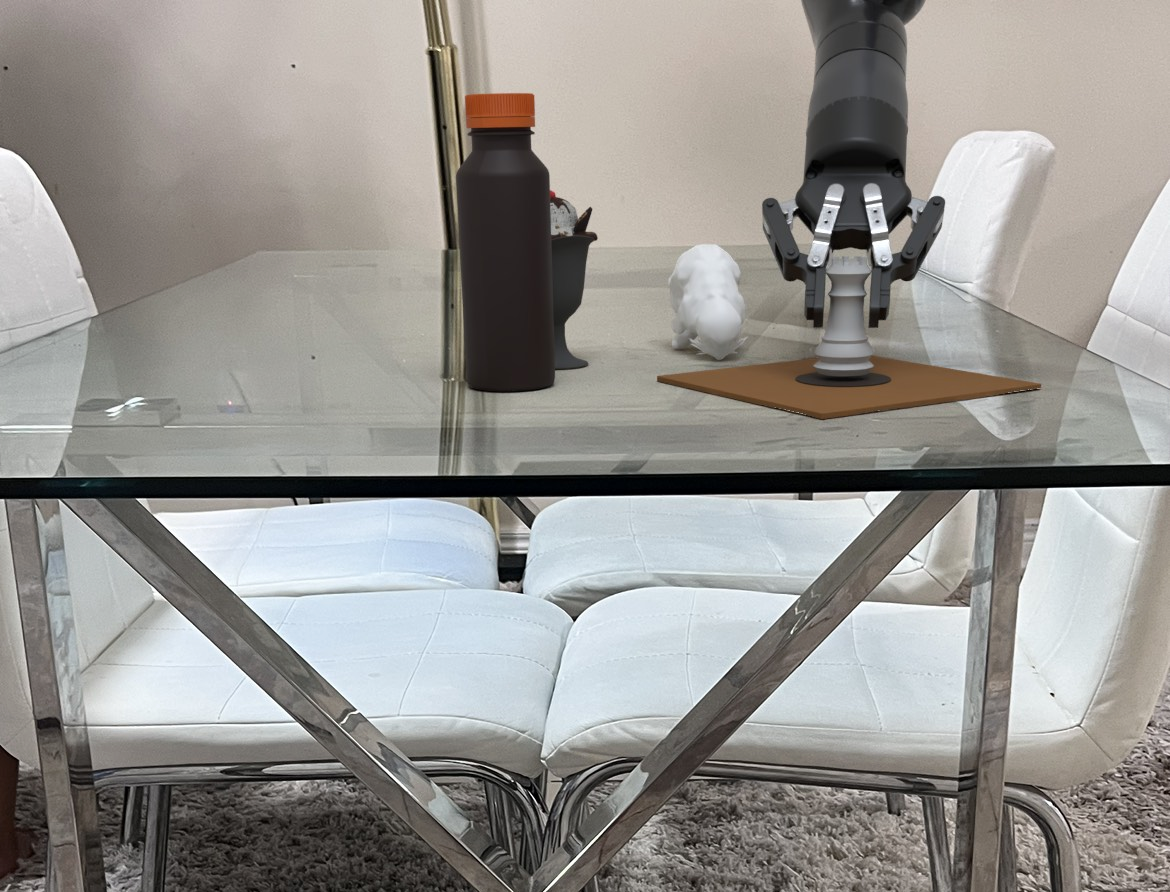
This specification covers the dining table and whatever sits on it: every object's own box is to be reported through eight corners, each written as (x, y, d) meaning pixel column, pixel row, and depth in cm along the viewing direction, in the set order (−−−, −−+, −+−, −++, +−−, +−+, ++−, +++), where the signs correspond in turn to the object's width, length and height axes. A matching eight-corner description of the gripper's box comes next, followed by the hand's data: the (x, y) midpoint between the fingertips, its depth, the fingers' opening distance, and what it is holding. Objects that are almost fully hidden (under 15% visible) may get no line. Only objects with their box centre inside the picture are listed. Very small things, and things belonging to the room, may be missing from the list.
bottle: (514, 375, 111) (503, 96, 103) (574, 384, 107) (567, 92, 99) (448, 386, 107) (431, 95, 99) (507, 395, 103) (495, 92, 94)
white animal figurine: (738, 239, 122) (765, 263, 112) (733, 338, 127) (759, 371, 116) (666, 240, 122) (686, 265, 112) (664, 341, 126) (684, 373, 116)
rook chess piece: (812, 377, 102) (818, 260, 99) (812, 367, 106) (817, 255, 103) (875, 377, 102) (882, 260, 98) (872, 367, 106) (879, 254, 102)
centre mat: (1041, 389, 101) (1041, 382, 100) (821, 419, 92) (822, 411, 91) (858, 358, 116) (859, 351, 116) (656, 381, 108) (656, 374, 107)
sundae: (504, 363, 117) (496, 168, 111) (576, 357, 120) (572, 166, 114) (538, 373, 112) (532, 169, 106) (612, 366, 115) (610, 167, 109)
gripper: (762, 95, 104) (746, 286, 98) (957, 90, 101) (953, 285, 96) (763, 171, 111) (748, 353, 105) (946, 168, 108) (941, 354, 103)
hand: (846, 319), depth 100 cm, fingers closed on rook chess piece, 3 cm apart
